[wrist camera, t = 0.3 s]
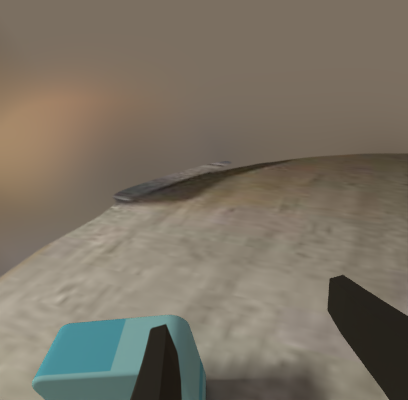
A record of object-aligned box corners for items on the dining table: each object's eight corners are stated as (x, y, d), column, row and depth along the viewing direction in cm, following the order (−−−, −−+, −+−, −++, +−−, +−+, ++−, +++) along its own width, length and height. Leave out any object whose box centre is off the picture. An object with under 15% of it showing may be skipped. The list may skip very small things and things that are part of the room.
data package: (208, 379, 27) (185, 311, 21) (208, 434, 23) (180, 371, 17) (103, 385, 29) (53, 323, 22) (87, 438, 25) (21, 381, 19)
